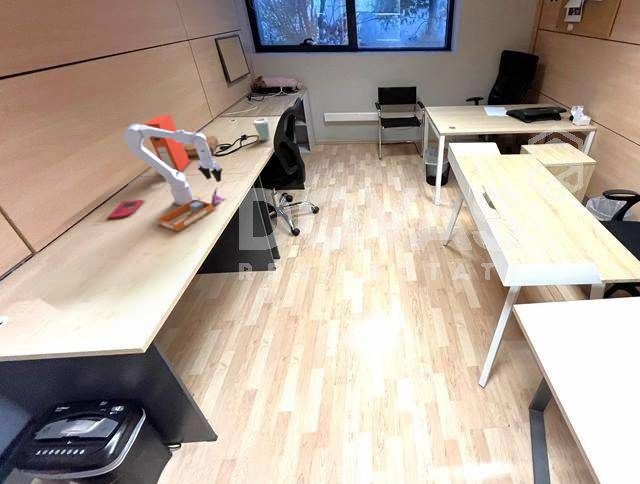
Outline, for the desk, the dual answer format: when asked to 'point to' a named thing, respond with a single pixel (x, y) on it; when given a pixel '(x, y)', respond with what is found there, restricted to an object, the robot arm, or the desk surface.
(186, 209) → the wooden tray
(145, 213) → the desk surface
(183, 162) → the file binder
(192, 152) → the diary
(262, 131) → the disposable coffee cup
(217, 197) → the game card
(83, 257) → the desk surface
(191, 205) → the small cube
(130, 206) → the handheld gaming console
